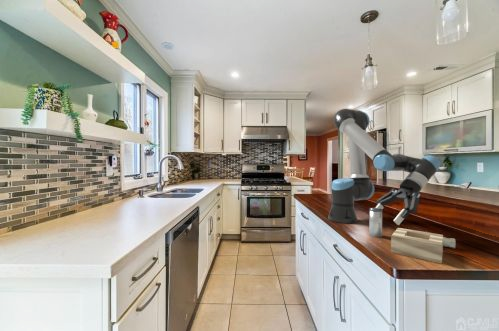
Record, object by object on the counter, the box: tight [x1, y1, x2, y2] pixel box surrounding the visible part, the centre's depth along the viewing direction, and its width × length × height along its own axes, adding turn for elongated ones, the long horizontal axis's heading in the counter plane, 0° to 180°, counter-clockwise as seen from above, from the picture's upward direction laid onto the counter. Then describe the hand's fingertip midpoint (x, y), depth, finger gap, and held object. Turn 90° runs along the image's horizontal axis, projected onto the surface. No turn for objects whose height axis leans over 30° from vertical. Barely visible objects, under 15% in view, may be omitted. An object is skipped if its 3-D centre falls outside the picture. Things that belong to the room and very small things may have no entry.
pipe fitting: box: [443, 236, 456, 250], centre depth 90 cm, size 8×4×7 cm
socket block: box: [390, 227, 444, 264], centre depth 83 cm, size 14×14×6 cm
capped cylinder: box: [368, 207, 383, 238], centre depth 102 cm, size 5×5×12 cm
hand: (383, 219), depth 101 cm, fingers open, 13 cm apart
